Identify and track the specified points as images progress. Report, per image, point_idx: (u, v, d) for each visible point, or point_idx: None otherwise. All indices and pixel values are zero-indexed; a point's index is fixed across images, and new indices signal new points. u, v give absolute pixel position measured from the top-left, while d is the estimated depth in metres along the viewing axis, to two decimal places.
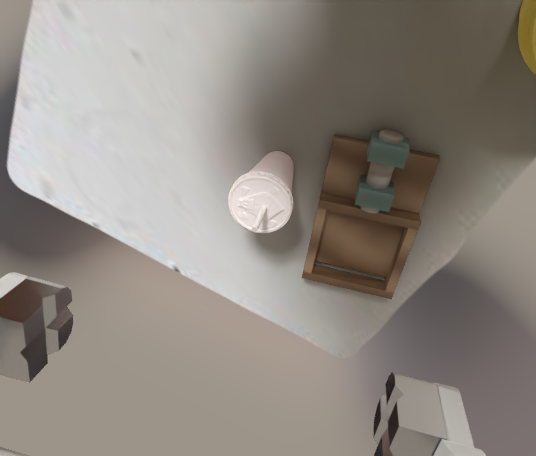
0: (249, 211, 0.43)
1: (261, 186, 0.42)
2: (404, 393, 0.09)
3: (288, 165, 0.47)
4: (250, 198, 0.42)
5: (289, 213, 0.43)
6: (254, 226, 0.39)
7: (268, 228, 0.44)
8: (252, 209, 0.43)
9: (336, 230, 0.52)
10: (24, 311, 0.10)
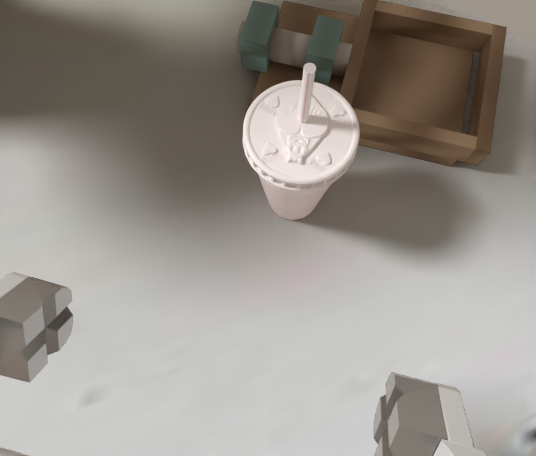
0: (313, 147, 0.23)
1: (264, 122, 0.24)
2: (404, 393, 0.09)
3: None
4: (285, 140, 0.23)
5: (316, 84, 0.25)
6: (303, 70, 0.20)
7: (348, 120, 0.24)
8: (307, 139, 0.23)
9: (397, 113, 0.34)
10: (24, 311, 0.10)
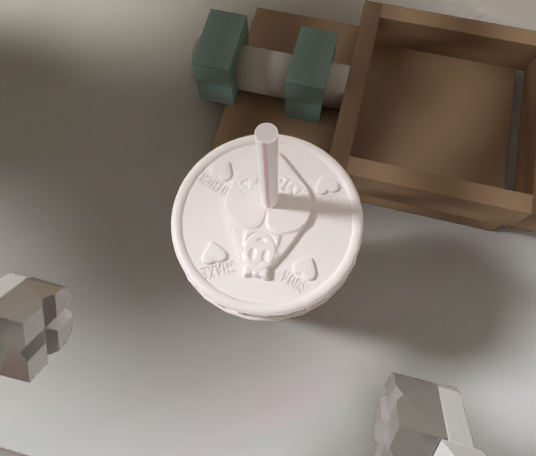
0: (287, 250, 0.14)
1: (206, 206, 0.15)
2: (404, 393, 0.09)
3: None
4: (240, 238, 0.14)
5: (292, 140, 0.15)
6: (256, 136, 0.11)
7: (345, 200, 0.15)
8: (277, 236, 0.14)
9: (414, 159, 0.25)
10: (24, 311, 0.10)
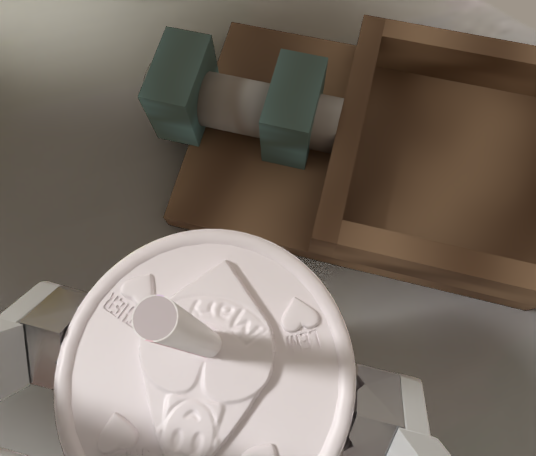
0: (233, 430, 0.09)
1: (111, 349, 0.09)
2: (366, 383, 0.09)
3: None
4: (159, 410, 0.09)
5: (249, 240, 0.10)
6: None
7: (327, 341, 0.09)
8: (218, 407, 0.09)
9: (425, 217, 0.19)
10: (59, 321, 0.10)
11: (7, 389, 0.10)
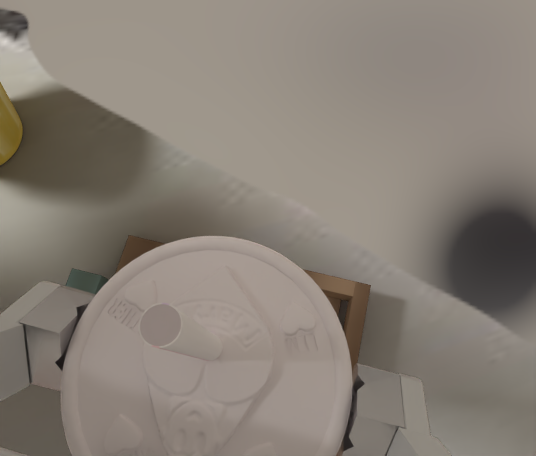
0: (234, 430, 0.09)
1: (116, 353, 0.10)
2: (365, 383, 0.09)
3: None
4: (163, 412, 0.09)
5: (248, 246, 0.10)
6: (144, 326, 0.06)
7: (324, 343, 0.10)
8: (219, 409, 0.09)
9: None
10: (59, 321, 0.10)
11: (7, 389, 0.10)
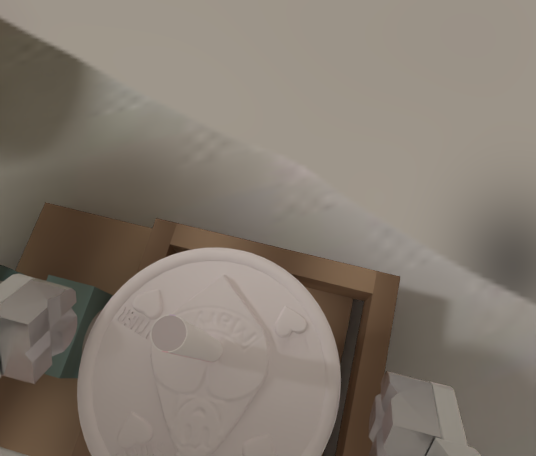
0: (235, 423, 0.10)
1: (126, 357, 0.11)
2: (399, 391, 0.09)
3: None
4: (170, 408, 0.10)
5: (244, 256, 0.11)
6: (154, 334, 0.07)
7: (315, 344, 0.11)
8: (221, 405, 0.10)
9: None
10: (29, 312, 0.10)
11: None
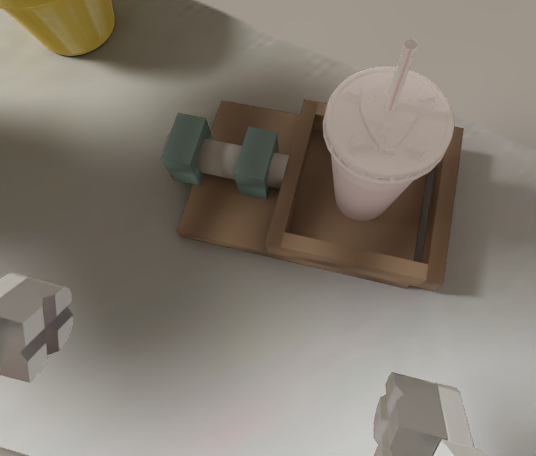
0: (405, 135, 0.21)
1: (347, 112, 0.22)
2: (404, 393, 0.09)
3: None
4: (373, 129, 0.22)
5: None
6: (403, 47, 0.18)
7: (439, 104, 0.22)
8: (398, 127, 0.22)
9: (342, 229, 0.30)
10: (24, 311, 0.10)
11: None
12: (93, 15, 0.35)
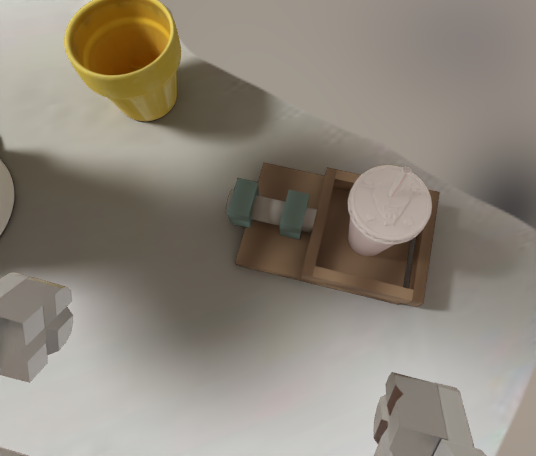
0: (401, 214, 0.34)
1: (364, 197, 0.35)
2: (404, 393, 0.09)
3: None
4: (381, 209, 0.34)
5: (397, 167, 0.35)
6: (402, 171, 0.30)
7: (423, 193, 0.35)
8: (397, 208, 0.34)
9: (353, 262, 0.43)
10: (24, 311, 0.10)
11: None
12: (167, 95, 0.46)
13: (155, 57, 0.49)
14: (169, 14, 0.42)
